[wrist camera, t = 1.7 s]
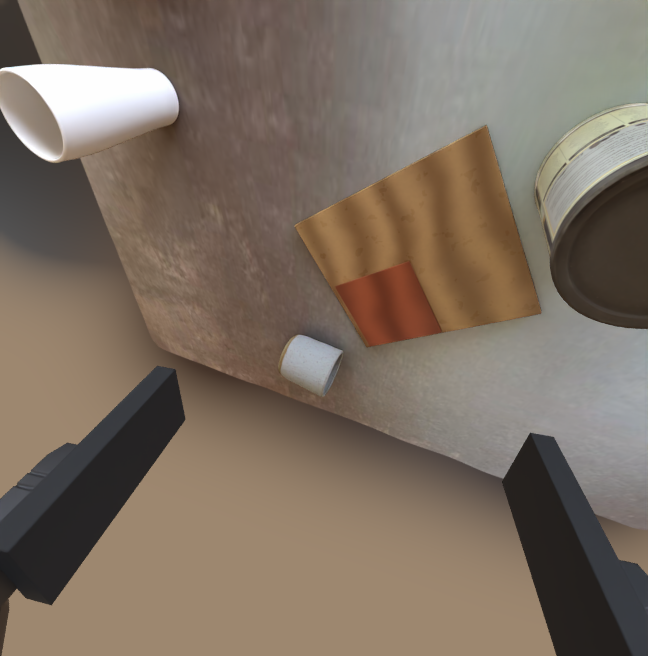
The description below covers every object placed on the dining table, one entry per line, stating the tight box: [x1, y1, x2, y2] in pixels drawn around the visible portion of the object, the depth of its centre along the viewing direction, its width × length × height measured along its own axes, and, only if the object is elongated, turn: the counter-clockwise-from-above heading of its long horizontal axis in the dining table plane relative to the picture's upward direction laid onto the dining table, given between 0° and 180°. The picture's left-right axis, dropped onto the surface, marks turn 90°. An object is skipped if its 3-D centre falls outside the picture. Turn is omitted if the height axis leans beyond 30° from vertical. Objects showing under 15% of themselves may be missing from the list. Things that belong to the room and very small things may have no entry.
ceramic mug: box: [278, 335, 343, 397], centre depth 52 cm, size 11×8×8 cm
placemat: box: [295, 125, 542, 347], centre depth 38 cm, size 22×20×1 cm
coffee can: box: [534, 103, 648, 329], centre depth 22 cm, size 10×10×14 cm
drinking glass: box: [0, 64, 179, 163], centre depth 32 cm, size 7×7×15 cm
